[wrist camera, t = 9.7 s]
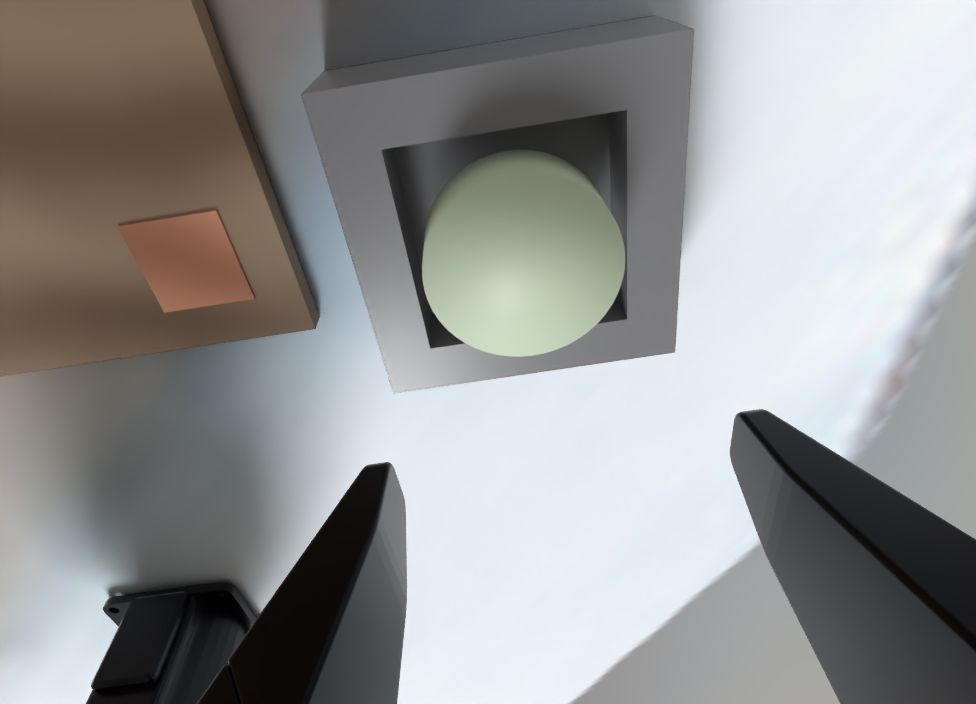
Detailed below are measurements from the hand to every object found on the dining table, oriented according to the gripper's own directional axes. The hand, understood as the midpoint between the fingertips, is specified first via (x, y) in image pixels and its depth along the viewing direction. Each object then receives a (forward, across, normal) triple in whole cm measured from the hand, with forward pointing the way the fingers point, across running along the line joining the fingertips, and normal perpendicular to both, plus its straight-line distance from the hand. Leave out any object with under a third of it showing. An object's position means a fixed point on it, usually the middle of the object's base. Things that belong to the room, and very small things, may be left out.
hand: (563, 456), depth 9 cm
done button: (+8, 0, 0) cm, 8 cm away
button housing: (+11, 0, 0) cm, 11 cm away
